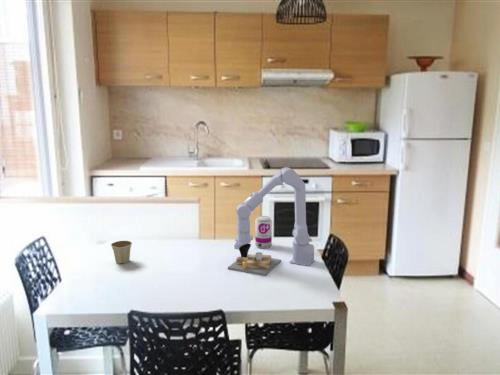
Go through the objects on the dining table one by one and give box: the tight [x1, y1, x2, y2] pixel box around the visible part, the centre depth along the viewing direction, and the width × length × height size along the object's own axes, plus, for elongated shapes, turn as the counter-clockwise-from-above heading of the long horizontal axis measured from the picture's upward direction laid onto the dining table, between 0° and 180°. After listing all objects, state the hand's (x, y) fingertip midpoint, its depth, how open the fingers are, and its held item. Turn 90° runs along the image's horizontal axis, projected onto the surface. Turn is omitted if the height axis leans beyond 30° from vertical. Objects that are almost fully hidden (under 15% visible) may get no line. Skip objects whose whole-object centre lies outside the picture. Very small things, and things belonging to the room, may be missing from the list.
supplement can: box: [254, 215, 273, 249], centre depth 218 cm, size 8×8×15 cm
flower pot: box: [110, 240, 133, 265], centre depth 200 cm, size 9×9×9 cm
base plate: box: [227, 251, 282, 277], centre depth 194 cm, size 18×18×6 cm
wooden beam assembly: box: [235, 253, 272, 269], centre depth 193 cm, size 15×10×2 cm, turn 83°
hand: (244, 259), depth 196 cm, fingers closed, pressing on wooden beam assembly
